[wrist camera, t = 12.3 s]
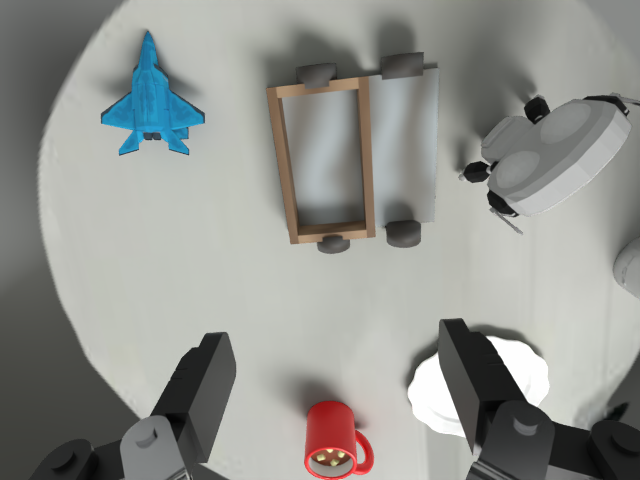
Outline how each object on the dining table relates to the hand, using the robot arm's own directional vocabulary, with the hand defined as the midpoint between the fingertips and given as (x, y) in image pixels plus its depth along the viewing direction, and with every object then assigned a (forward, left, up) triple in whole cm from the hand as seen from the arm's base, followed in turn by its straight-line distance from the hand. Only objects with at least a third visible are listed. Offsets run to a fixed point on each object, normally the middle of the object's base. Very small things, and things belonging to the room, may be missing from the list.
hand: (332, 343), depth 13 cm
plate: (-19, +37, -31) cm, 51 cm away
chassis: (-3, -1, -30) cm, 30 cm away
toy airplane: (+13, -7, -30) cm, 34 cm away
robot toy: (-18, -2, -30) cm, 35 cm away
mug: (+2, +44, -30) cm, 53 cm away
